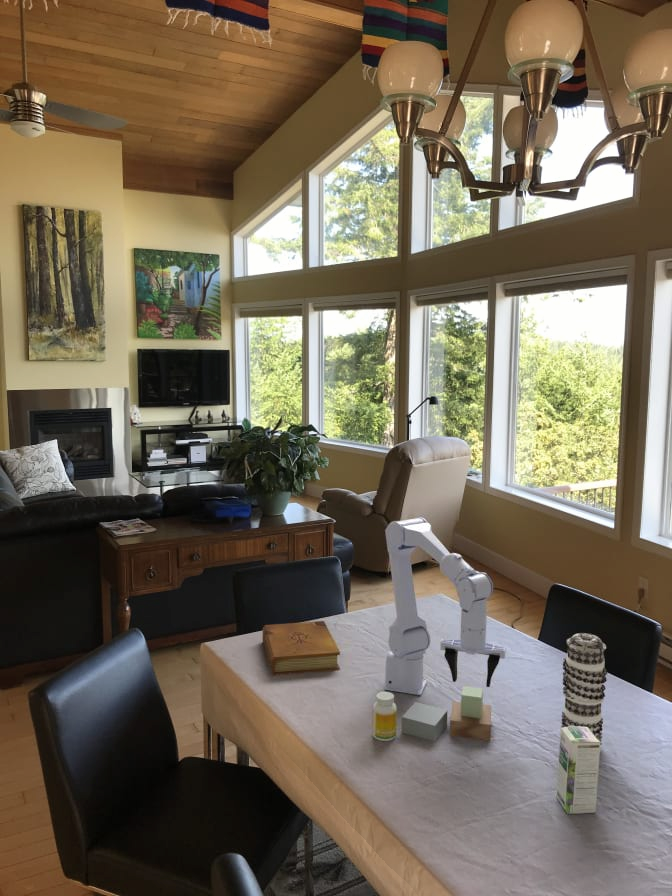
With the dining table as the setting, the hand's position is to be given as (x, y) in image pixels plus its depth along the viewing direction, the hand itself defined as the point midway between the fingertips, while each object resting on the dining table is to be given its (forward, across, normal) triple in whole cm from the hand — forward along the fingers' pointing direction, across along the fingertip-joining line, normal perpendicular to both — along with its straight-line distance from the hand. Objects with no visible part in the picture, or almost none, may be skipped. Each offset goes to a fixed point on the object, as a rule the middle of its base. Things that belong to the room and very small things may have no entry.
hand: (471, 682), depth 162 cm
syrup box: (+10, +23, -23) cm, 34 cm away
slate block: (+11, -10, -5) cm, 15 cm away
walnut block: (+11, 0, -1) cm, 11 cm away
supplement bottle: (+11, -18, -11) cm, 23 cm away
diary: (+11, -52, +23) cm, 58 cm away
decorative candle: (+10, +24, -1) cm, 26 cm away
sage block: (+7, 0, -1) cm, 7 cm away
